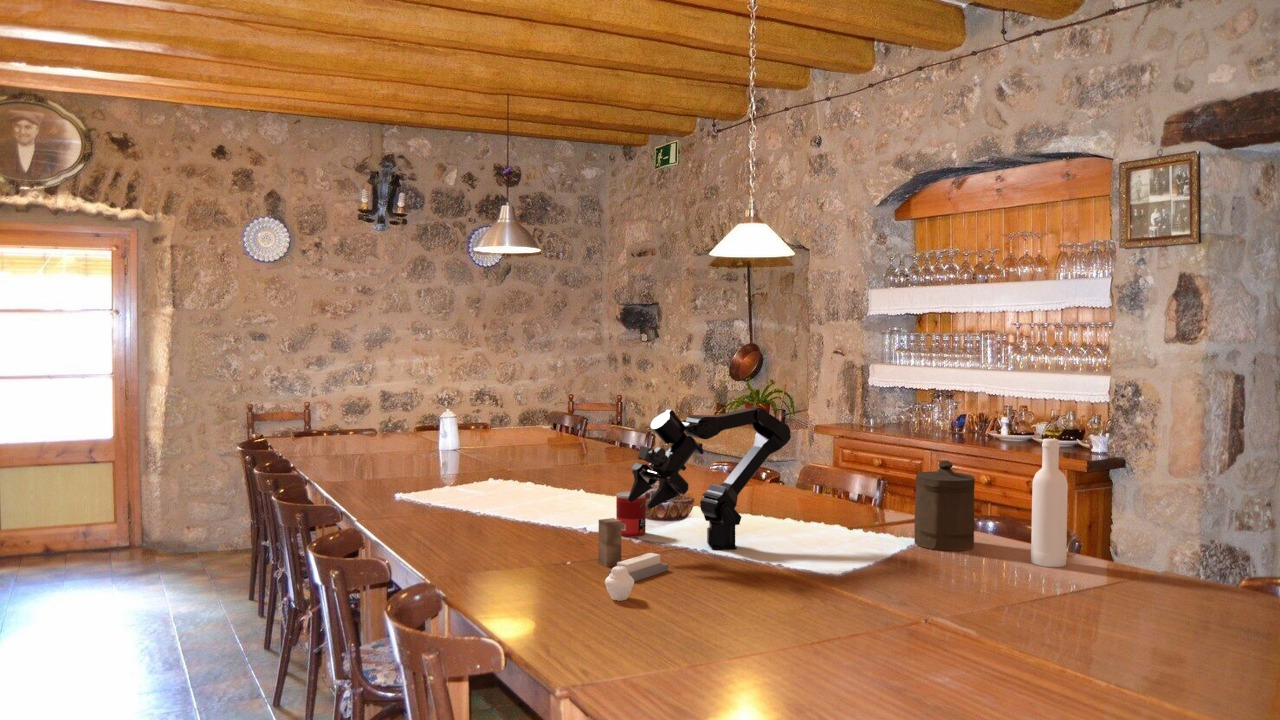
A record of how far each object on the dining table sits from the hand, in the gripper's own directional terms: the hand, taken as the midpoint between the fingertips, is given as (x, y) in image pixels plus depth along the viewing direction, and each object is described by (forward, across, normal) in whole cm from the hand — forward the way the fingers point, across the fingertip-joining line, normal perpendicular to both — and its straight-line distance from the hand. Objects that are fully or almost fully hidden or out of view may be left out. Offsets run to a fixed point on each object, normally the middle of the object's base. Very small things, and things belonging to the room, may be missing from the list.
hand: (638, 504), depth 232 cm
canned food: (+1, -25, +19) cm, 31 cm away
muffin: (+24, +26, -4) cm, 35 cm away
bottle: (-49, +53, +69) cm, 100 cm away
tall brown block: (+15, 0, +4) cm, 16 cm away
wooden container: (-44, +27, +64) cm, 82 cm away
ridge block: (+14, +11, +5) cm, 19 cm away
